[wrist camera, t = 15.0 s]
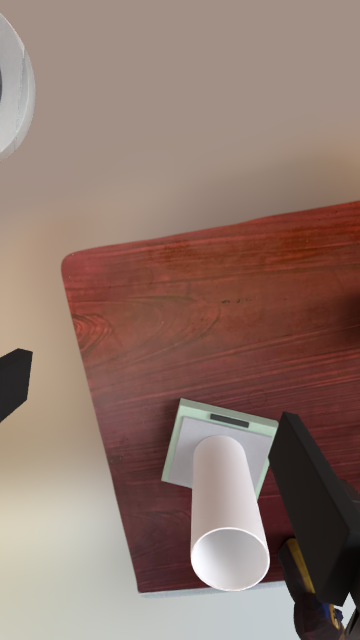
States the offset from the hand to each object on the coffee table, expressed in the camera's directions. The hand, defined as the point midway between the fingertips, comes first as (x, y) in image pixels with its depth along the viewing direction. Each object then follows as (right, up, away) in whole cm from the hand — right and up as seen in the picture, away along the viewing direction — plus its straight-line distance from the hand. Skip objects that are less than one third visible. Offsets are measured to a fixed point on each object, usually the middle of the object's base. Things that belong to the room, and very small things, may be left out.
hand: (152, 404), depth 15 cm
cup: (+8, -17, +31) cm, 37 cm away
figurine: (+22, -36, +37) cm, 56 cm away
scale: (+8, -17, +34) cm, 39 cm away
